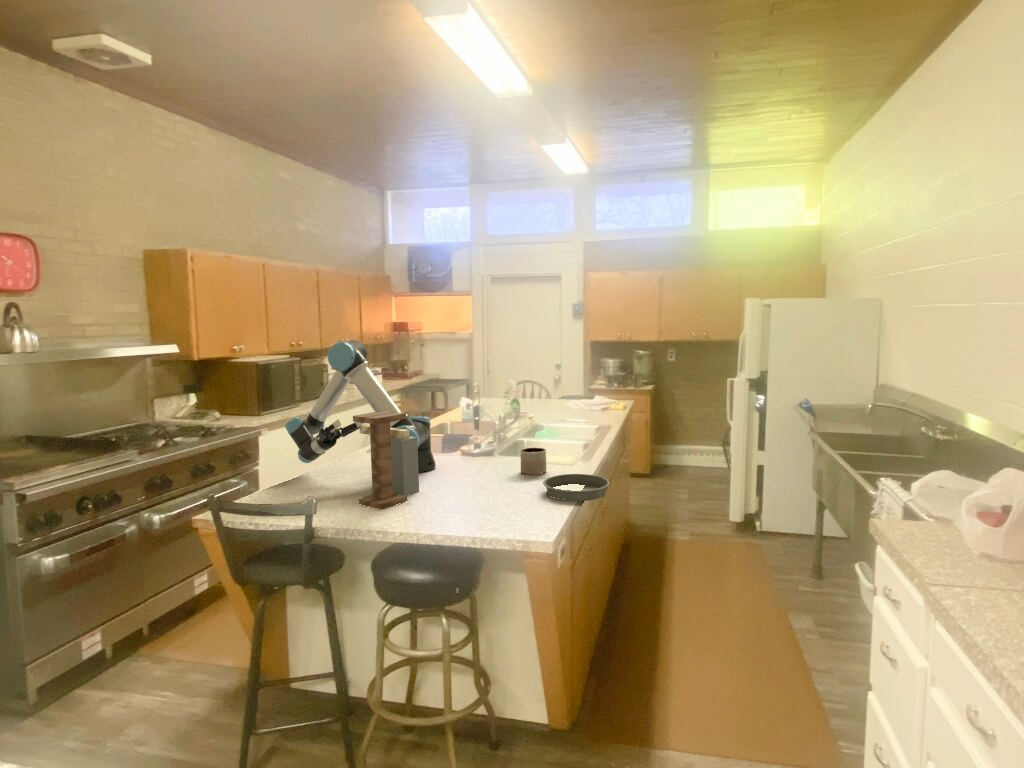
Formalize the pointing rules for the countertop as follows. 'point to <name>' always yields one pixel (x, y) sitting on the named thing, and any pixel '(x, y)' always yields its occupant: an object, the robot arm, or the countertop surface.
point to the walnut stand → (381, 459)
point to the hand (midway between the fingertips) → (352, 419)
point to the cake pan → (591, 490)
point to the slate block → (404, 465)
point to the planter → (533, 460)
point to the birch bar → (394, 431)
